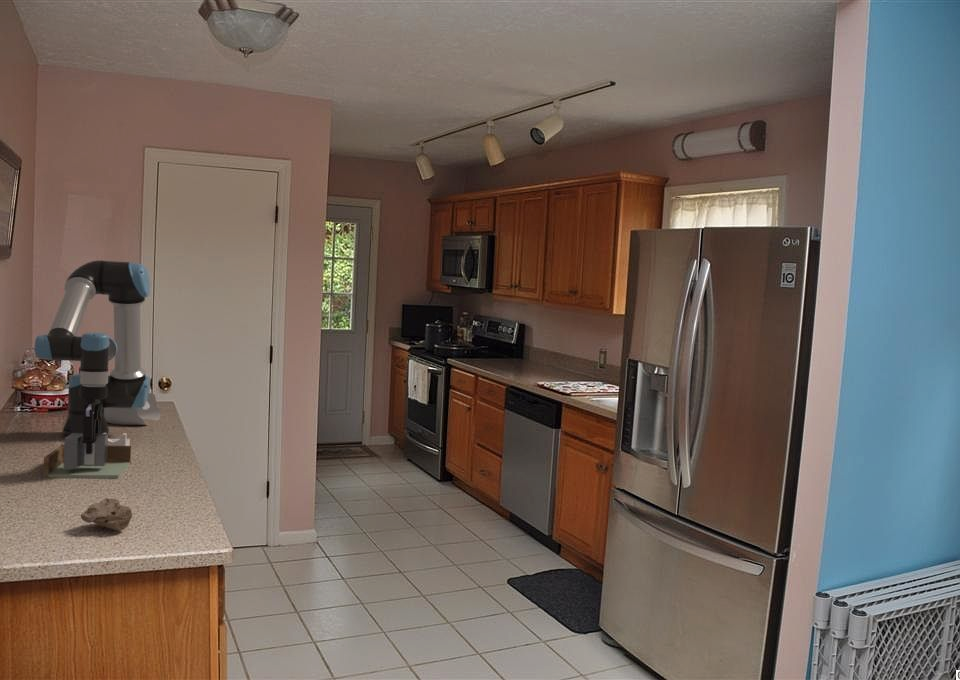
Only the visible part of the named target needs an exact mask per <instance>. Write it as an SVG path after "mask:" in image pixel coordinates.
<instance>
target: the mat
mask: <svg viewBox="0 0 960 680" xmlns="http://www.w3.org/2000/svg"><path fill="white" fill-rule="evenodd" d="M130 466H131V463H130V462H107V464H106V465H105V466H80V467H79V468H77V469H64V462H63V463H62V464H61V465H60V466H58V467H57V468H56V469H55V470H53V471H52V472H51V473H50V474H48V477H46V476H47V475H46V476H45V475H44V474H43V478H55V479H56V478H58V479H61V478H63V479H64V478H65V479H106V478H109V479H110V480H112V479H113V478H114V479H116V480H117V479H120V478H121V476H122V475H123V474H124V473H125V471H126V470H127V469H128V468H129V467H130ZM114 479H113V480H114Z"/></svg>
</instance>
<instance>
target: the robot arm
mask: <svg viewBox="0 0 960 680" xmlns="http://www.w3.org/2000/svg"><path fill="white" fill-rule="evenodd" d="M150 287H151V284H150V276H149V271H148V269H147V267H146V266H145V264H143V263H137V262H133V261H132V262H131V261H115V260H114V261H112V260H93V261H89V262H87V263H84V264H82V265H80V266H79V267H78V268H76V269H74V271H73V272H72V273H70V275H69V276H68V277H67V279H66V281H65V284H64V291H65V293H64V294H63V297H62V299H61V302H60V305H59V307H58V310H57V312H56V314H55V316H54V319H53V321H52V324H51V326H50V329H49V331H48V334H40V335H38V336H37V337H36V338H35V341H34V355H35V356H36V358H37V359H39V360H47V361H73V362H75V361H76V362H80V369H79V370H80V371H79V373H74V374H72V375H71V376H70V377H69V381H68V386H67V388H68V400H67V402H68V405H67V406H68V407H67V417H66V420H65V422H64V425H63V428H62V429H61V437H62V436H63V437H62V438H64V437H65V438H66V437H67V436H69V435H70V434H72V433H83V441H82V443H85V451H84V465H94V464H95V442H94V441H95V440H94V438H95V434H103V433H106V434H108V437H109V435H110V434H109V433H110V432H109V431H110V428H109V426H108V423H107V422H106V420H105V417H104V408H130V409H132V408H142V407H144V406H145V404H146V401H147V398H148V393H150V387H151V378H150V377H149V376H148V375H147V376H146V371H145V370H144V369H143V368H142V363H141V362H142V360H141V358H142V357H141V355H142V354H141V305H142V304H144V302H146V298H148V297H149V296H150V293H151V292H150V291H151V289H150ZM95 295H106V296H108V302H109V303H110V304H112V305H113V336H114V337H113V338H111V337H110V335H108V334H107V333H102V332H85V333H83V334H82V335H81V336H77V334H78V331H79V330H80V327H81V324H82V321H83V318H84V315H85V312H86V311H87V308H88V305H89V303H90V300H92V299H94V298H95ZM113 358H114V368H113V369H112V370H111V371H110V373H109V362H110V361H111V360H112V359H113ZM65 438H64V439H65Z"/></svg>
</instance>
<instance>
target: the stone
mask: <svg viewBox="0 0 960 680" xmlns="http://www.w3.org/2000/svg"><path fill="white" fill-rule="evenodd" d="M132 516H133V513H132V509H131V508H130V507H129V506H126V505H121V503H120V500H119V499H117V498H107V497H106V498H104V499H102V500H101V501H100V502H95V503H92V504H90V505H89V506H88V507H87V510H86V511H84V512H82V513H81V514H80V519H81V520H82V521H83V522H86V523H89V524H91V523H93V524H97V525H99V526H102V527H104V528H108V529H111V530H112V529H113V530H116V531H119V532H121V531H124V530H125V529H126V528H128V526H129V523H130V521H131V519H132V518H133V517H132Z"/></svg>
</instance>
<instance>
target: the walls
mask: <svg viewBox="0 0 960 680" xmlns="http://www.w3.org/2000/svg"><path fill="white" fill-rule="evenodd" d="M131 461H132V445H130V446H109V445H108V452H107V462H130V463H131ZM63 462H64V444H61V445H59V446H58V447H56V448H55V449H54V450H52V451H51V452H50V453H48V454H47V455H46V456H44V457H43V476H44V475H45V476H46V475H47V476H46V477H45V478H49V477H48V474H50V473H51V472H52V471H53V470H55V469H56V468H57V467H58V466H60V465H61V464H62V463H63Z"/></svg>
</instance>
